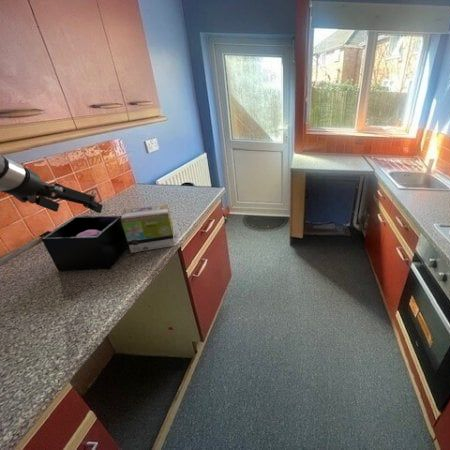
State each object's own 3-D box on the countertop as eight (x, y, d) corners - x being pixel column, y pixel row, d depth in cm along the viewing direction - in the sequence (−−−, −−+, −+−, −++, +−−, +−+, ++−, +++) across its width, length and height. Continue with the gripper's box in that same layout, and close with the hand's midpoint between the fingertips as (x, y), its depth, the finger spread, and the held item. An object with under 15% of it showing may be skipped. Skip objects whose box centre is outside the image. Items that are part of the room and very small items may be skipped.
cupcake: (109, 260, 87) (98, 235, 82) (78, 265, 84) (65, 240, 79) (114, 246, 94) (105, 223, 89) (86, 251, 91) (75, 227, 86)
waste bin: (58, 271, 82) (41, 238, 76) (87, 245, 95) (75, 216, 90) (109, 269, 84) (96, 237, 78) (131, 244, 97) (122, 215, 91)
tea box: (130, 254, 92) (118, 218, 85) (133, 241, 100) (123, 207, 93) (175, 246, 98) (167, 212, 91) (175, 234, 105) (167, 202, 99)
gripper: (-50, 190, 60) (35, 217, 80) (59, 194, 61) (115, 220, 81) (-37, 162, 62) (42, 196, 82) (68, 166, 63) (120, 199, 83)
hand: (79, 208), depth 82 cm, fingers open, 13 cm apart
